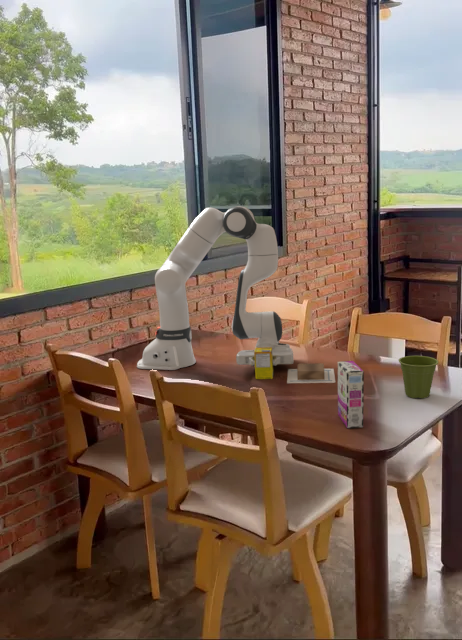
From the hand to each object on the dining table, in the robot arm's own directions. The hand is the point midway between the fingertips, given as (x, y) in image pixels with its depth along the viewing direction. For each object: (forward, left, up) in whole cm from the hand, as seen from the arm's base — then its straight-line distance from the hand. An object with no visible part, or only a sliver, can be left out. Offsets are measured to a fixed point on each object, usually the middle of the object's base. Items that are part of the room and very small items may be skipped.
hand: (263, 363), depth 228 cm
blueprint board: (+16, +1, -6) cm, 17 cm away
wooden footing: (+16, +1, -5) cm, 17 cm away
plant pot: (+49, -17, -6) cm, 52 cm away
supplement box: (0, +1, -6) cm, 6 cm away
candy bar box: (+27, -39, -6) cm, 48 cm away
